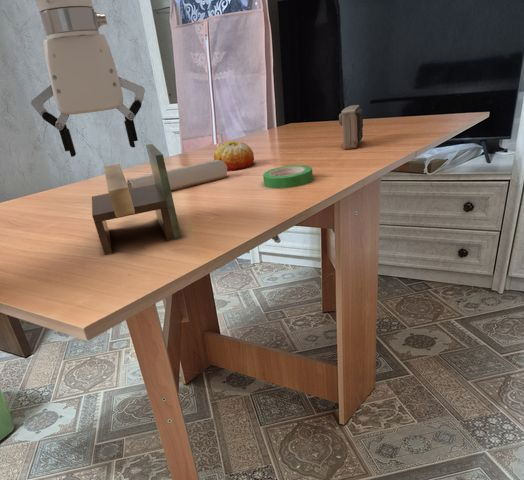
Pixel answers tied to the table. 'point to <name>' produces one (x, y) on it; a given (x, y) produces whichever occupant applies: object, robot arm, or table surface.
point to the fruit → (235, 155)
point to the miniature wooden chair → (141, 203)
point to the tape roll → (288, 176)
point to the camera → (351, 126)
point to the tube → (185, 175)
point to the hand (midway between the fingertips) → (103, 150)
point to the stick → (118, 191)
